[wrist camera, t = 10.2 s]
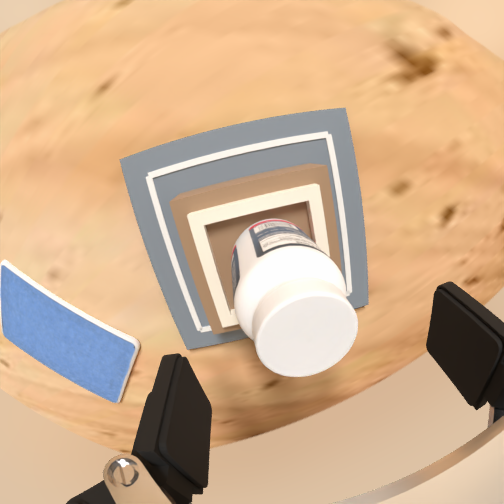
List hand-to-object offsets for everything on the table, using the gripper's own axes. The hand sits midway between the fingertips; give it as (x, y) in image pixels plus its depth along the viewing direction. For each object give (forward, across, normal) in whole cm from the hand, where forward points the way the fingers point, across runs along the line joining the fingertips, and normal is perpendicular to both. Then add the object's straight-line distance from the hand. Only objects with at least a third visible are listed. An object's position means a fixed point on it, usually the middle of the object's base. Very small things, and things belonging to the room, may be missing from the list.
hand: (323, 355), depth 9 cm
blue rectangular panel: (+14, +26, +6) cm, 30 cm away
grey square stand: (+14, +1, 0) cm, 15 cm away
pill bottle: (+10, +1, 0) cm, 10 cm away
